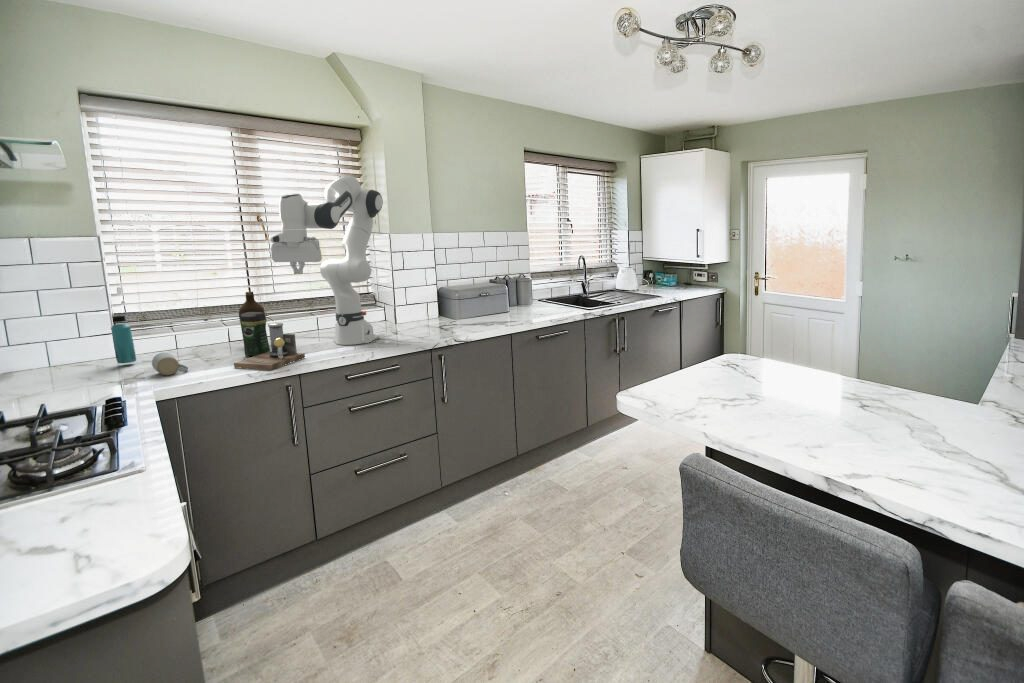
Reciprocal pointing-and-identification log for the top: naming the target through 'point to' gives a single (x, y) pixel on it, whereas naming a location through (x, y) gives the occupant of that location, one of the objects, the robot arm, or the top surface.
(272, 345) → the capstan
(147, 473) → the top surface
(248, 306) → the olive oil
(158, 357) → the ceramic mug
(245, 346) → the coffee jar
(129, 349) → the beverage bottle
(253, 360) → the stand
